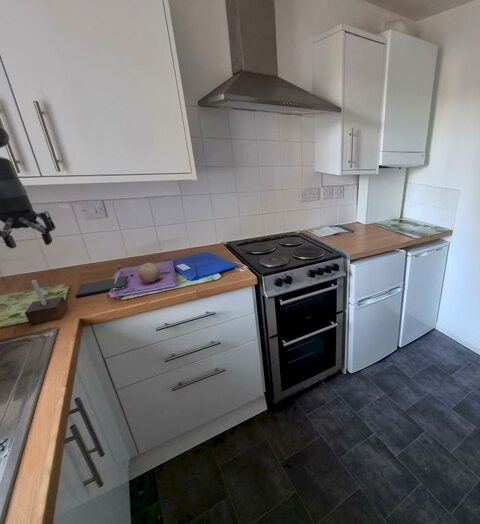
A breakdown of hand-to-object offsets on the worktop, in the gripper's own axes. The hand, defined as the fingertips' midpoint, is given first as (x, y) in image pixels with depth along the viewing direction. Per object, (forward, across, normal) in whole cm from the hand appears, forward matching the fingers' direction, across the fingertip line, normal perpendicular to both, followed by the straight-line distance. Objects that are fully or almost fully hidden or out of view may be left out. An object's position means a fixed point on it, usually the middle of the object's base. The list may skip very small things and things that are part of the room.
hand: (31, 245), depth 95 cm
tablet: (+26, +8, +19) cm, 33 cm away
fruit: (+26, +25, +17) cm, 40 cm away
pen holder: (+26, -3, 0) cm, 26 cm away
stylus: (+26, -3, 0) cm, 26 cm away
